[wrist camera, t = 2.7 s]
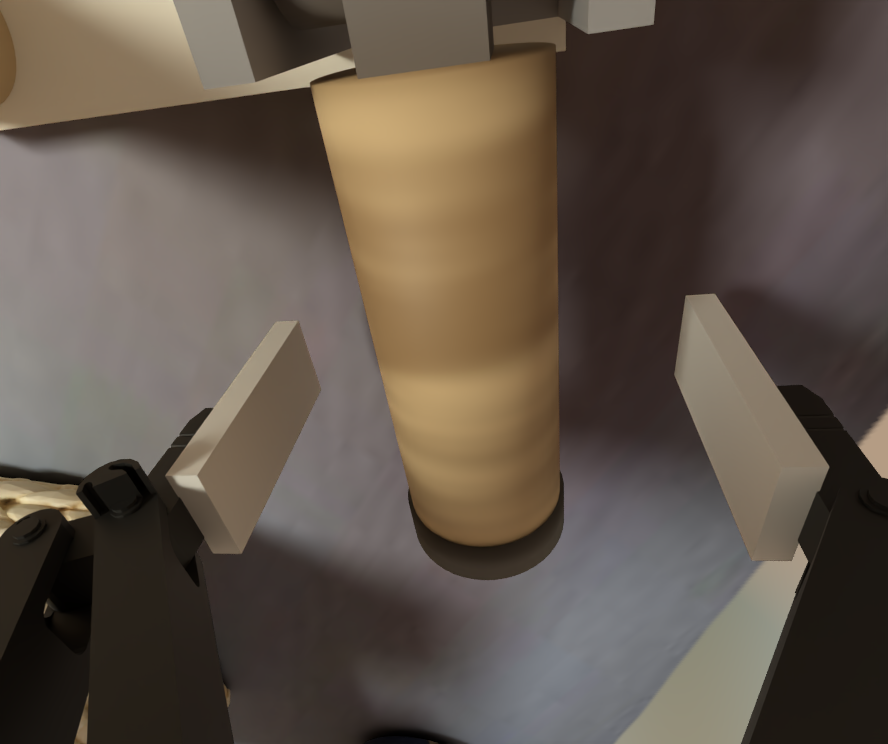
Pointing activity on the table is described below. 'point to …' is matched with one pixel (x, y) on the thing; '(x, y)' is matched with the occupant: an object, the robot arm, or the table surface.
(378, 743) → the canister
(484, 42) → the hinged leg
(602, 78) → the table surface
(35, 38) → the stool seat
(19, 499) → the basket
